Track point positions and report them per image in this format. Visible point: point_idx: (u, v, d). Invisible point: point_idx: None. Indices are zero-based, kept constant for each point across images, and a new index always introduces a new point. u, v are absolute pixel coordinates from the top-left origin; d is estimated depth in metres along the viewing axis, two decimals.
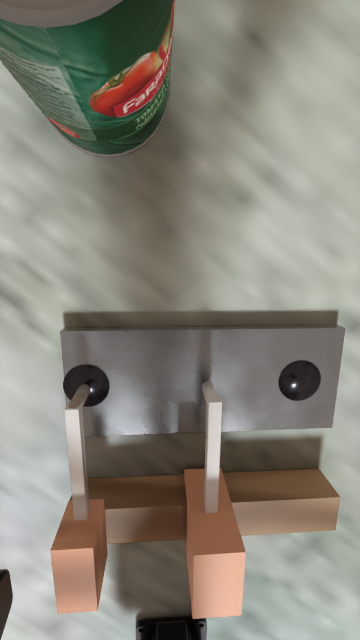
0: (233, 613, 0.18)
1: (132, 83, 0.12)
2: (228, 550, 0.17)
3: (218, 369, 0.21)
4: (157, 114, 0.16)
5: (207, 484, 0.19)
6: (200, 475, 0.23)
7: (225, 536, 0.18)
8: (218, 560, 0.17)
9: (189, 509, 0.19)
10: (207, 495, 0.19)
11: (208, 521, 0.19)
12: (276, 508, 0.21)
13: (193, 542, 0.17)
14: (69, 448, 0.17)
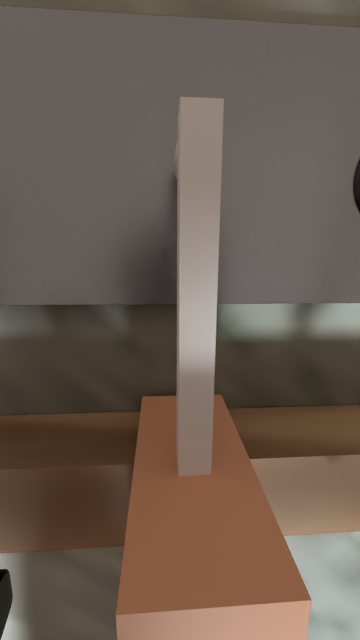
0: None
1: None
2: (248, 592, 0.05)
3: None
4: None
5: (181, 392, 0.07)
6: (176, 405, 0.10)
7: (235, 542, 0.05)
8: (209, 629, 0.04)
9: (136, 467, 0.07)
10: (182, 424, 0.07)
11: (184, 496, 0.06)
12: (349, 475, 0.09)
13: (126, 561, 0.05)
14: None
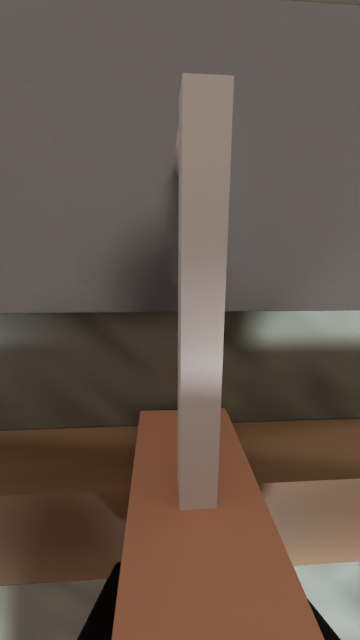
0: None
1: None
2: None
3: None
4: None
5: (183, 416, 0.06)
6: (176, 421, 0.09)
7: (247, 599, 0.05)
8: None
9: (132, 499, 0.06)
10: (184, 453, 0.06)
11: (186, 537, 0.06)
12: None
13: (117, 628, 0.04)
14: None
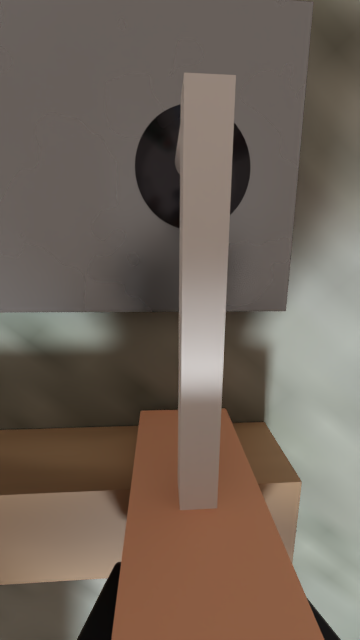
0: None
1: None
2: None
3: None
4: None
5: (184, 416, 0.06)
6: (176, 421, 0.09)
7: (247, 600, 0.05)
8: None
9: (132, 498, 0.06)
10: (184, 453, 0.06)
11: (186, 537, 0.06)
12: None
13: (117, 628, 0.04)
14: None
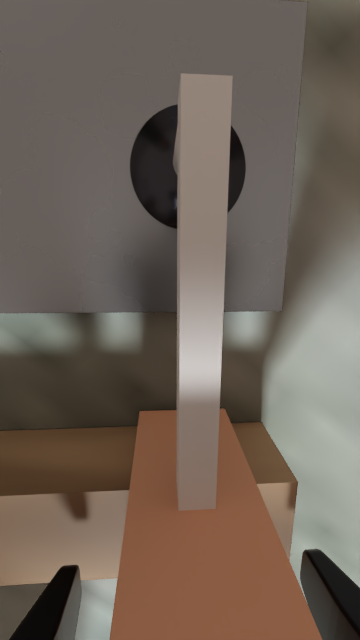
0: None
1: None
2: None
3: None
4: None
5: (182, 416, 0.06)
6: (175, 422, 0.09)
7: (245, 599, 0.05)
8: None
9: (131, 499, 0.06)
10: (183, 453, 0.06)
11: (185, 537, 0.06)
12: (125, 513, 0.08)
13: (115, 629, 0.04)
14: None
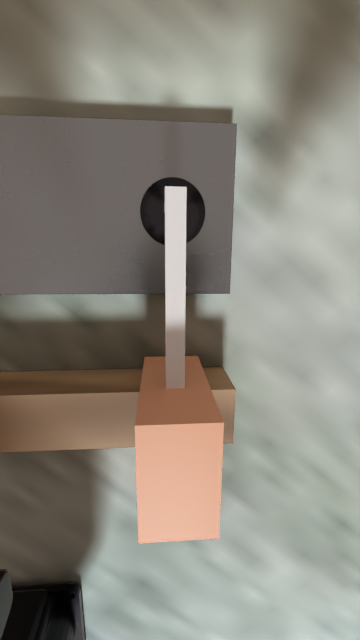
0: (205, 536, 0.11)
1: None
2: (195, 420, 0.10)
3: (42, 187, 0.14)
4: None
5: (167, 338, 0.12)
6: None
7: (192, 408, 0.11)
8: (177, 435, 0.10)
9: (141, 385, 0.13)
10: (168, 357, 0.12)
11: (168, 395, 0.12)
12: None
13: (138, 413, 0.10)
14: None
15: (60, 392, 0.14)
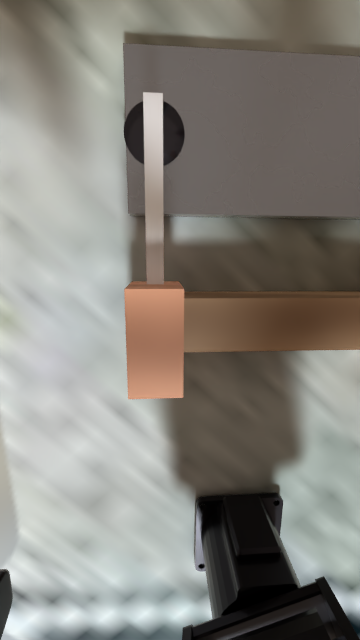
0: None
1: None
2: None
3: (327, 119, 0.16)
4: None
5: None
6: None
7: None
8: None
9: None
10: None
11: None
12: None
13: None
14: (146, 161, 0.12)
15: (337, 297, 0.16)
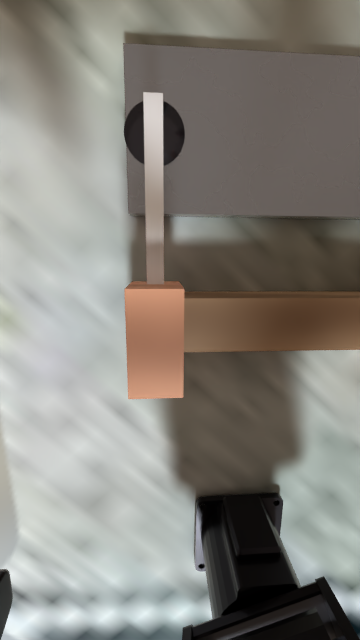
0: None
1: None
2: None
3: (327, 119, 0.16)
4: None
5: None
6: None
7: None
8: None
9: None
10: None
11: None
12: None
13: None
14: (146, 161, 0.12)
15: (337, 297, 0.16)
